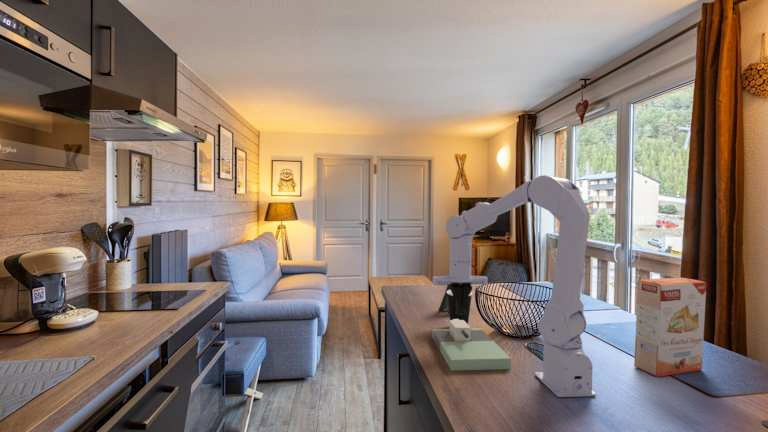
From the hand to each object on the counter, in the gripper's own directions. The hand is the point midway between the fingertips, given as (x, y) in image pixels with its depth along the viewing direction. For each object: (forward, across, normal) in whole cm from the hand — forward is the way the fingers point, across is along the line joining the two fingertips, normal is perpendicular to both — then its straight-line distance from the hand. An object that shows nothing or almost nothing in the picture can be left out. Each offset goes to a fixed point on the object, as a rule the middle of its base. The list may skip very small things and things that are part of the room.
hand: (459, 311), depth 93 cm
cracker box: (+10, -45, +16) cm, 49 cm away
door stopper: (+10, -7, -31) cm, 33 cm away
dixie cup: (+10, -4, -14) cm, 17 cm away
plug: (+9, 0, +1) cm, 9 cm away
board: (+9, -1, +4) cm, 10 cm away
